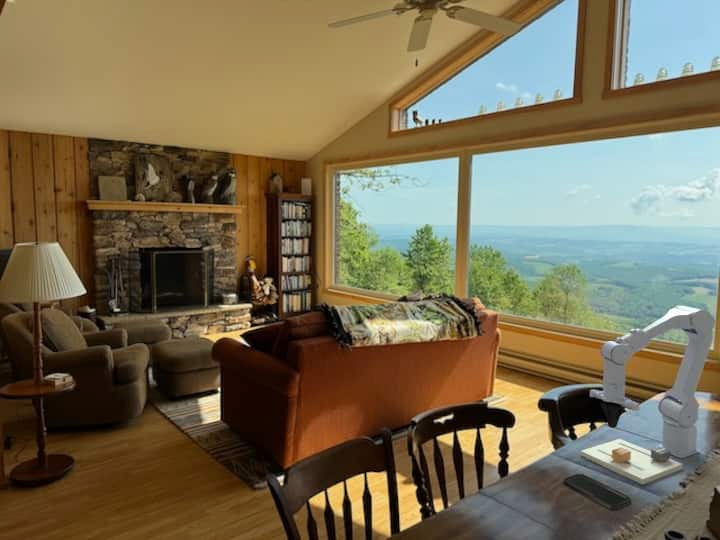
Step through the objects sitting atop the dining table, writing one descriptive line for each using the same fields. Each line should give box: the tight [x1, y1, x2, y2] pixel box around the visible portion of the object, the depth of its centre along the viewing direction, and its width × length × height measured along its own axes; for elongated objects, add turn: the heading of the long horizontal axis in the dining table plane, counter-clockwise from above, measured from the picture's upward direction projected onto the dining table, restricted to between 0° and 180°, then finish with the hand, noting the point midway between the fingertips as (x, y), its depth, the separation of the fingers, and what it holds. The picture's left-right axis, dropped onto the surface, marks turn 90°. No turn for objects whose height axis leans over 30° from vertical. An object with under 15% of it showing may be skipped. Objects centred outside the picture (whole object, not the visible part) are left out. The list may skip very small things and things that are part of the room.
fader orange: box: [612, 447, 631, 463], centre depth 141 cm, size 4×3×2 cm
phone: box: [562, 473, 632, 510], centre depth 127 cm, size 8×1×15 cm
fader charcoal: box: [650, 447, 671, 462], centre depth 141 cm, size 4×3×2 cm
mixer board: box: [580, 438, 683, 485], centre depth 143 cm, size 18×19×2 cm
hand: (612, 426), depth 148 cm, fingers closed
